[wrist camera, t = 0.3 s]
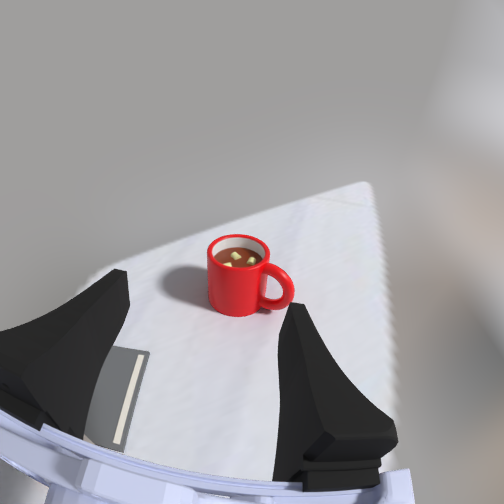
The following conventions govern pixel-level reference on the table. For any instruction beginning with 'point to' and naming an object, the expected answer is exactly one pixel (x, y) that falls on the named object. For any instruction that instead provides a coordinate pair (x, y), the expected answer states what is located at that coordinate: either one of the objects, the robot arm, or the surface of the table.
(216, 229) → the table surface
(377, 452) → the robot arm
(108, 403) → the mat
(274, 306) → the mug
